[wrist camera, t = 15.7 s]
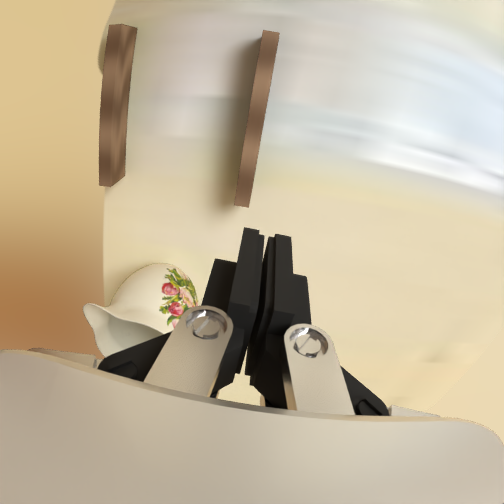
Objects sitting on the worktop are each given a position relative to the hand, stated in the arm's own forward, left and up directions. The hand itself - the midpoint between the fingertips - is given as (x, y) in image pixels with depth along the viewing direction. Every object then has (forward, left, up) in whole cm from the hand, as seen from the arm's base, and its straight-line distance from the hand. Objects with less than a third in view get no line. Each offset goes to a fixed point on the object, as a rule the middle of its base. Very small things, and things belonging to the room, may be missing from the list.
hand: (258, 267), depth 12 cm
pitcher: (+22, -10, -26) cm, 35 cm away
